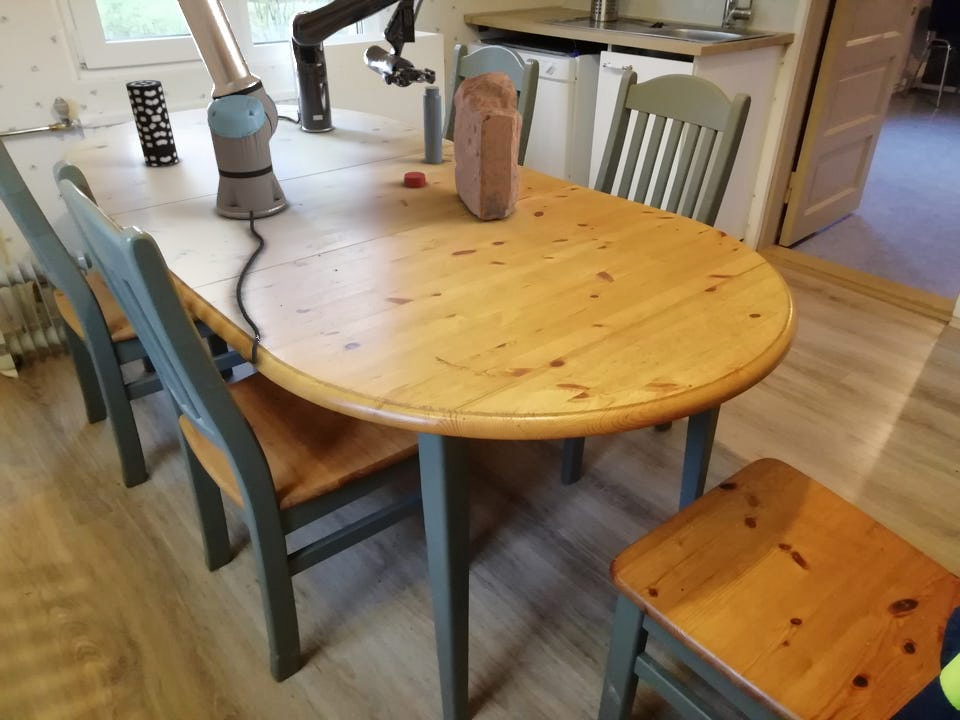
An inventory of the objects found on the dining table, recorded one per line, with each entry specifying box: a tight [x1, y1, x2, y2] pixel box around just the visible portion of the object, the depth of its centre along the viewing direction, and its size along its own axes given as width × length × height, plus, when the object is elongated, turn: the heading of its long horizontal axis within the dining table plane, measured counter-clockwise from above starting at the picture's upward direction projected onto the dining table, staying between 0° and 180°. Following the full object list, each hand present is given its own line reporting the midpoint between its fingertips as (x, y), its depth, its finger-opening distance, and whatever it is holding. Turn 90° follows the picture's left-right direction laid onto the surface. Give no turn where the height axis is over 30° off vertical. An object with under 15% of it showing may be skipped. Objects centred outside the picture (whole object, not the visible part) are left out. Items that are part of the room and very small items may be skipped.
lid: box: [403, 171, 426, 189], centre depth 173 cm, size 5×5×2 cm
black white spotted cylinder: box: [125, 79, 179, 167], centre depth 181 cm, size 8×8×20 cm
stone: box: [453, 71, 523, 221], centre depth 154 cm, size 22×11×28 cm, turn 18°
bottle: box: [422, 85, 443, 165], centre depth 185 cm, size 5×5×19 cm
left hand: (407, 38), depth 155 cm, fingers open, 13 cm apart
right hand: (417, 81), depth 188 cm, fingers open, 8 cm apart
